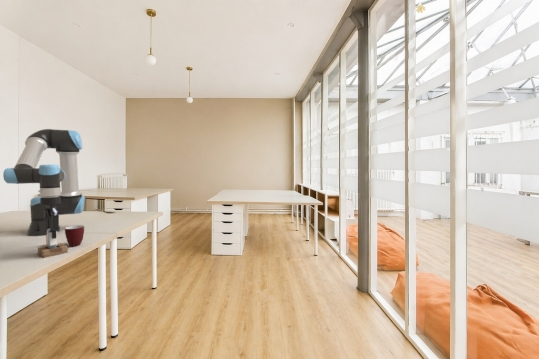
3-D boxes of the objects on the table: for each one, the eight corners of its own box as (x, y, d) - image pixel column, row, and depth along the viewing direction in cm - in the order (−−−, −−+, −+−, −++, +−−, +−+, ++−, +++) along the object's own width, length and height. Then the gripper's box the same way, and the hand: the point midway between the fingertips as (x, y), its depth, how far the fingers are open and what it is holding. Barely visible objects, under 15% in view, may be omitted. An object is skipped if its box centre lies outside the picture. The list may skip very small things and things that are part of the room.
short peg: (45, 245, 133) (45, 234, 132) (53, 244, 136) (52, 233, 135) (47, 246, 131) (47, 235, 131) (55, 245, 134) (54, 234, 133)
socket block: (37, 253, 121) (37, 247, 121) (61, 248, 129) (60, 243, 128) (43, 257, 116) (43, 251, 116) (67, 252, 124) (67, 246, 123)
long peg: (47, 252, 122) (46, 228, 121) (55, 251, 125) (54, 227, 124) (49, 254, 120) (48, 229, 119) (57, 252, 123) (56, 228, 122)
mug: (64, 244, 136) (64, 225, 135) (83, 241, 142) (82, 223, 141) (66, 249, 128) (65, 229, 128) (85, 245, 134) (84, 227, 133)
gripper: (35, 195, 122) (37, 242, 123) (45, 198, 113) (48, 249, 115) (54, 194, 128) (56, 239, 130) (66, 197, 119) (68, 245, 121)
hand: (52, 243), depth 122 cm, fingers closed on long peg, 3 cm apart
